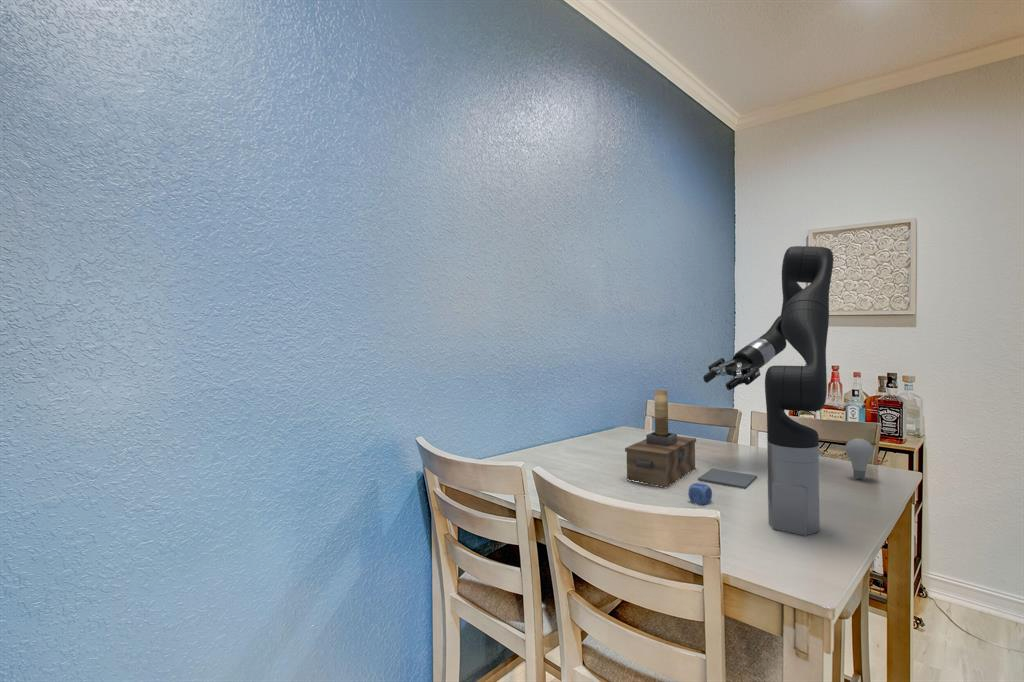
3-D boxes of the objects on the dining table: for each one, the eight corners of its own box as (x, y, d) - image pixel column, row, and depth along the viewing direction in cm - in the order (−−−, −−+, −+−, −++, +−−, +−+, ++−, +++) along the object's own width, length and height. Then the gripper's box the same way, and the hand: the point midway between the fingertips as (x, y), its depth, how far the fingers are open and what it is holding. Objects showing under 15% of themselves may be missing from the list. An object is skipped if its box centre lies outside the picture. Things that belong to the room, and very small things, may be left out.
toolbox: (664, 489, 124) (664, 455, 124) (623, 481, 132) (622, 448, 132) (698, 467, 144) (697, 437, 144) (660, 461, 151) (660, 433, 151)
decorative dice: (696, 498, 118) (696, 481, 118) (712, 502, 115) (712, 485, 115) (688, 502, 115) (688, 485, 115) (704, 506, 112) (704, 489, 112)
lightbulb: (872, 477, 130) (872, 437, 130) (874, 484, 125) (874, 442, 125) (845, 474, 134) (844, 435, 134) (846, 480, 129) (845, 439, 128)
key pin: (665, 445, 135) (664, 391, 135) (653, 443, 137) (652, 390, 137) (670, 442, 138) (669, 390, 138) (658, 441, 140) (657, 389, 140)
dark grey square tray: (668, 446, 133) (668, 437, 133) (646, 443, 137) (646, 434, 137) (677, 442, 138) (677, 433, 138) (655, 439, 142) (655, 431, 142)
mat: (745, 489, 124) (745, 486, 124) (697, 480, 131) (697, 478, 131) (757, 477, 133) (756, 475, 133) (712, 470, 141) (712, 468, 141)
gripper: (732, 341, 150) (694, 367, 145) (772, 349, 137) (732, 378, 132) (738, 361, 152) (700, 388, 148) (778, 371, 139) (738, 401, 135)
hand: (715, 383), depth 140 cm, fingers open, 8 cm apart
